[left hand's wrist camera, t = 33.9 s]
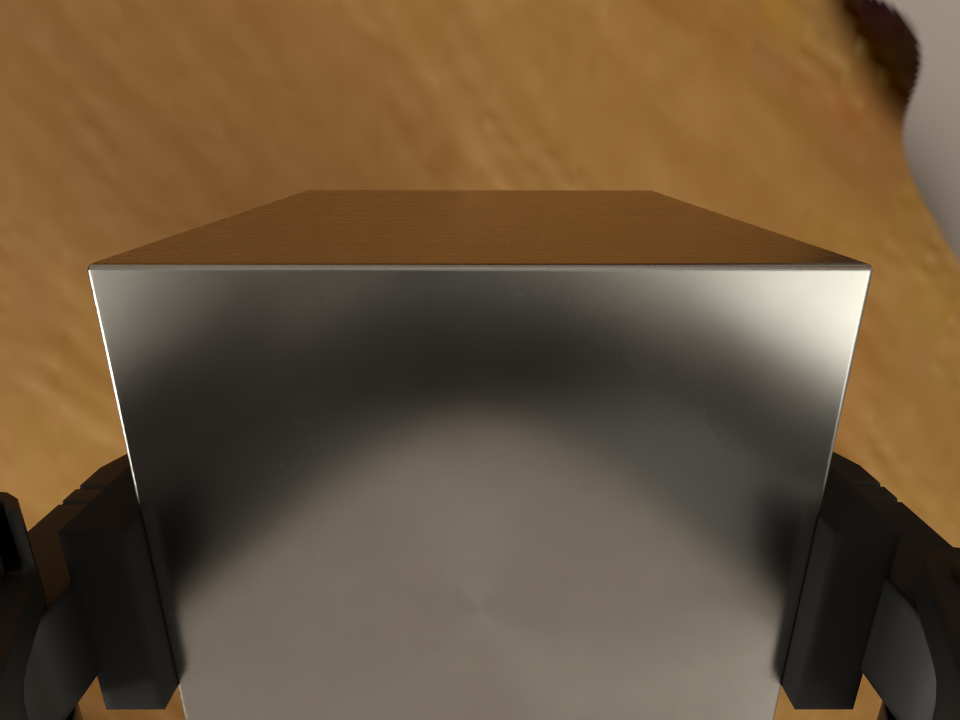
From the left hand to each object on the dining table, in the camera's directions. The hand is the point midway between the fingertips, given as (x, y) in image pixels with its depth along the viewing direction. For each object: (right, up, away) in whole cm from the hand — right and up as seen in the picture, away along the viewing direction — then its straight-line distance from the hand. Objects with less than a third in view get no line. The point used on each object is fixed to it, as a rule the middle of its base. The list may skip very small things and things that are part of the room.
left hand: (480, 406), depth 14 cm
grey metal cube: (0, +1, +2) cm, 3 cm away
